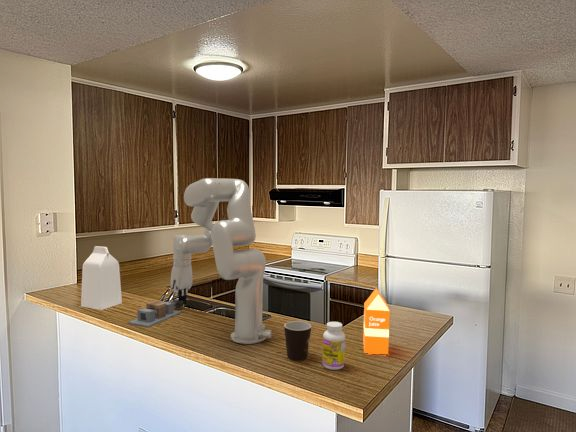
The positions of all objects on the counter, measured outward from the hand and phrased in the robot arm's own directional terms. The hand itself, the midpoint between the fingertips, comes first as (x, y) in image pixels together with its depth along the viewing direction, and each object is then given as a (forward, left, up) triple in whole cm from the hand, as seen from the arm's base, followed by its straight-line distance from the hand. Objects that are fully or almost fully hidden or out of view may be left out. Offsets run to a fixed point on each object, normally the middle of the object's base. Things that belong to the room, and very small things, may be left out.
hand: (182, 303), depth 180 cm
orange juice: (-87, +11, -2) cm, 88 cm away
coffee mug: (-66, +26, -2) cm, 71 cm away
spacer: (0, +17, -1) cm, 17 cm away
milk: (+34, +13, -2) cm, 36 cm away
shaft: (0, +10, 0) cm, 10 cm away
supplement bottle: (-78, +29, -2) cm, 83 cm away
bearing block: (0, +17, -1) cm, 17 cm away
